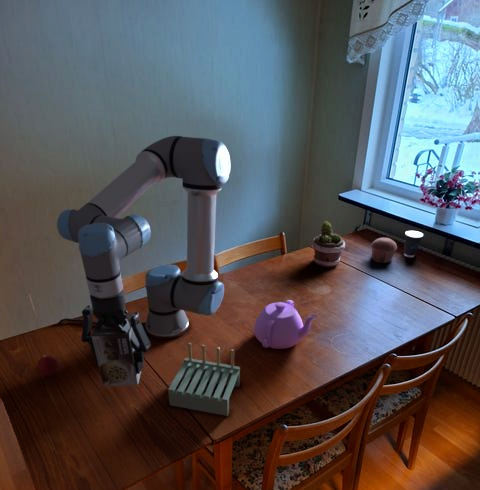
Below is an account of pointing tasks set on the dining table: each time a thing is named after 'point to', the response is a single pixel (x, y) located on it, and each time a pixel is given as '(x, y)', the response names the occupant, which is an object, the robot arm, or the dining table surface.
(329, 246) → the flowerpot
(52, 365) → the onion
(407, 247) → the dixie cup
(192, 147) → the robot arm
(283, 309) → the teapot
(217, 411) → the rack
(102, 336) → the coffee box
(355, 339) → the dining table surface
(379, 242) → the muffin
